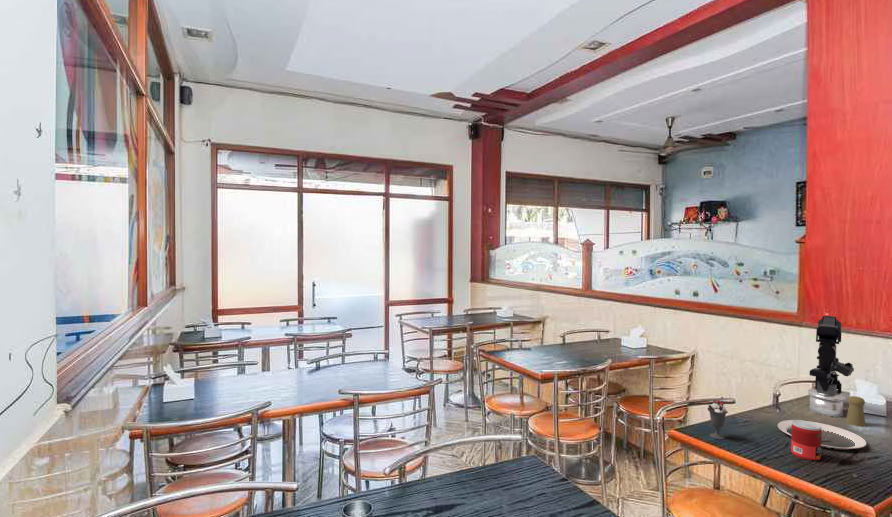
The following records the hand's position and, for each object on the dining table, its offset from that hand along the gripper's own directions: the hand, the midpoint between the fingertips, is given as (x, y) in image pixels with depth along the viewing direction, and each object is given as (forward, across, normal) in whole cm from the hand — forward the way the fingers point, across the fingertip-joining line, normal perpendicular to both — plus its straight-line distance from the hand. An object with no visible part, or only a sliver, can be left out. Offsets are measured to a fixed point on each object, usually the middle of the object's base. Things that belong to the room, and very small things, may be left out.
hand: (826, 390), depth 196 cm
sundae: (+10, -68, +10) cm, 69 cm away
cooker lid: (+2, 0, 0) cm, 2 cm away
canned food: (+10, -58, -14) cm, 61 cm away
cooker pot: (+10, 0, 0) cm, 10 cm away
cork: (+10, -6, -12) cm, 16 cm away
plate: (+10, -35, -10) cm, 38 cm away
